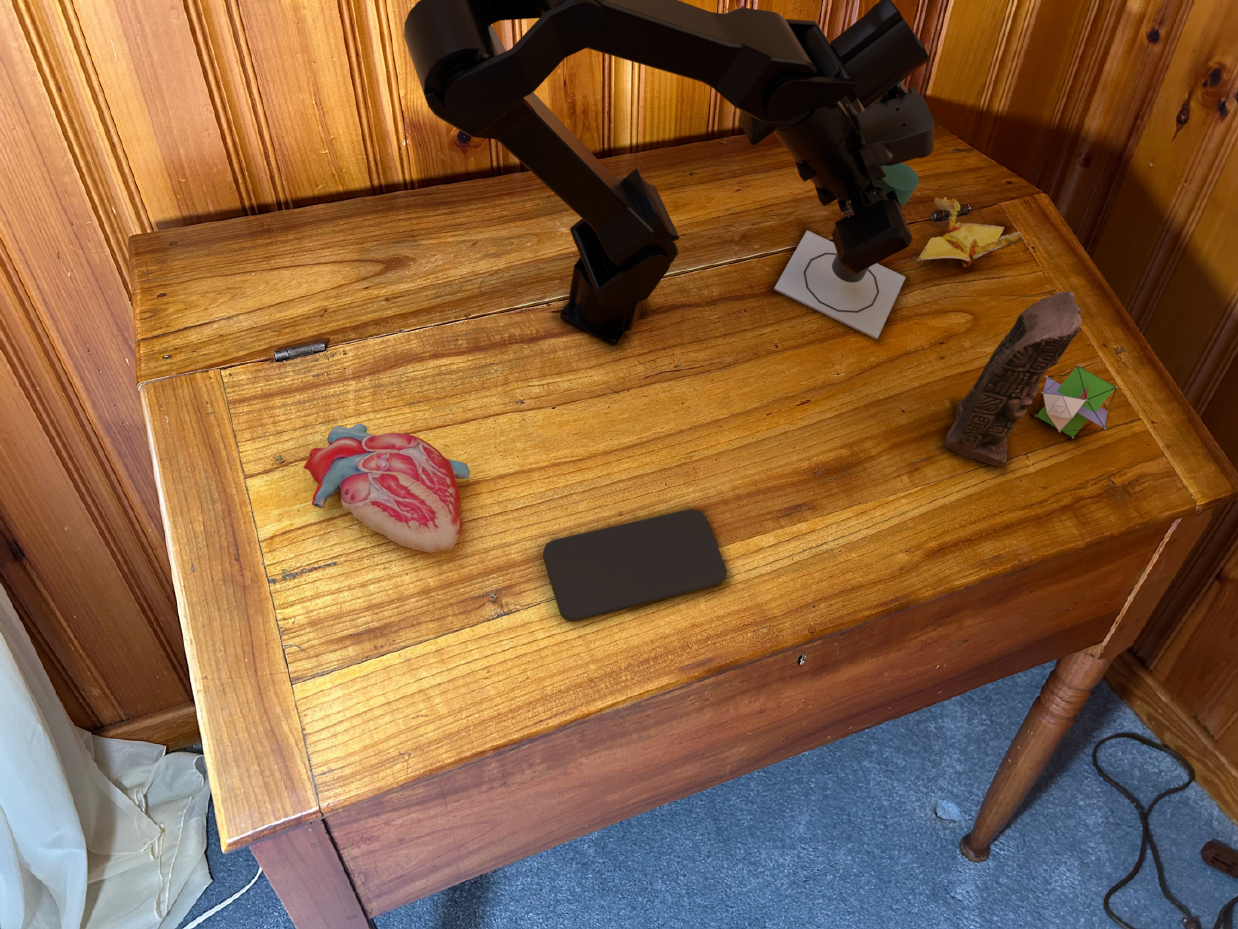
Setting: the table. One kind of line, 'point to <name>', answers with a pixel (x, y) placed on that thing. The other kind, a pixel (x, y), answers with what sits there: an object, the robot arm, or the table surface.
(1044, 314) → the statue
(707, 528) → the phone
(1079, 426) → the geometric puzzle
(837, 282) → the white rectangular board
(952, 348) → the table surface
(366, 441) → the anatomical model
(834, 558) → the table surface
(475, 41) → the robot arm
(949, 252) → the origami crane
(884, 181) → the dot marker
